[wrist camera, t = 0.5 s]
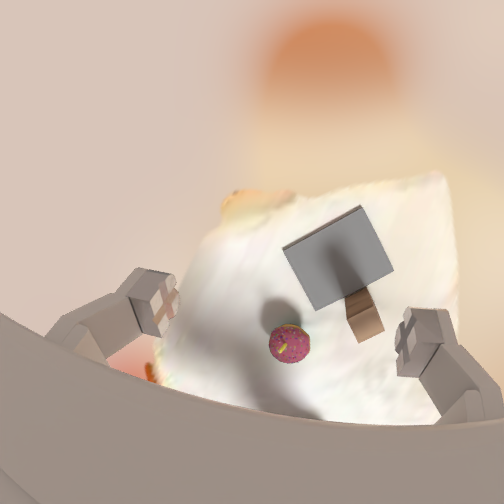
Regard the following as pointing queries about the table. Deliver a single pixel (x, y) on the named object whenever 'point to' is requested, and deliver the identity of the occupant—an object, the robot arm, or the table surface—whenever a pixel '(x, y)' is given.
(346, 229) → the mat
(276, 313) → the table surface
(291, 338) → the cupcake
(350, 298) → the walnut block
